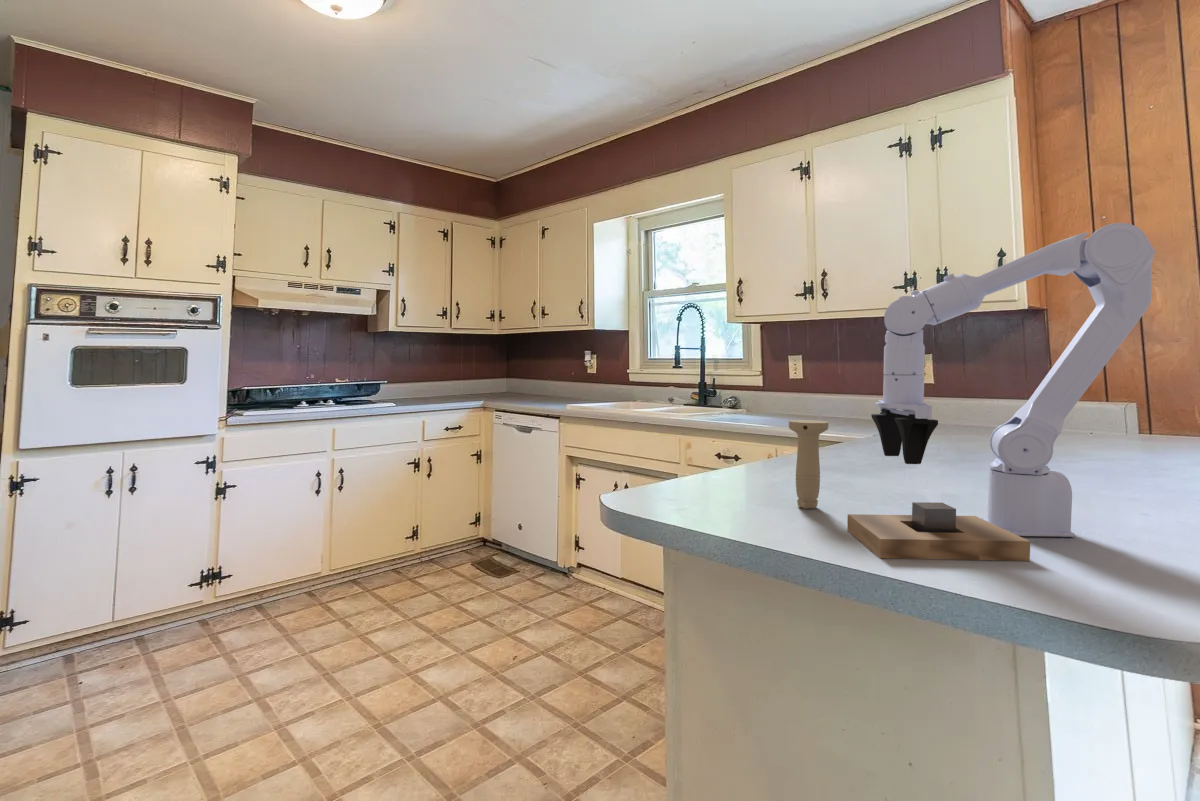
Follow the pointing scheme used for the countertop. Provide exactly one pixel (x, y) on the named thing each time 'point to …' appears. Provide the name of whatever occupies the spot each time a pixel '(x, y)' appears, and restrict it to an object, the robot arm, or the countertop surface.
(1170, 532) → the countertop surface
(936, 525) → the grey stone block
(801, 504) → the handle
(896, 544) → the well board
